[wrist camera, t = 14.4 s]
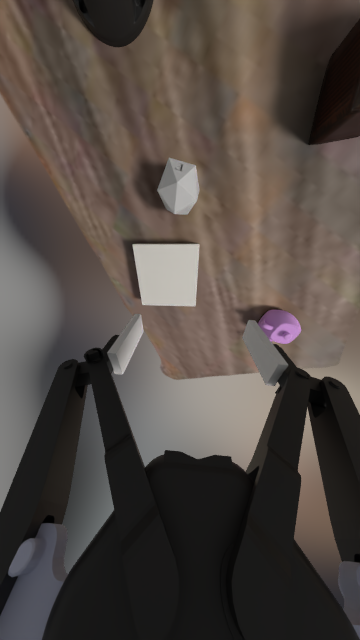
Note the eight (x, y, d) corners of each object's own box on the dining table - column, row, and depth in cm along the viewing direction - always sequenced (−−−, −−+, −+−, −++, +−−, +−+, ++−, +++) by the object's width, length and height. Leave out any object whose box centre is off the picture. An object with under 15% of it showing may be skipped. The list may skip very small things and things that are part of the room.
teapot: (262, 301, 47) (277, 315, 39) (296, 313, 48) (317, 329, 40) (239, 333, 55) (248, 350, 46) (269, 342, 56) (282, 361, 48)
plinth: (137, 243, 40) (132, 244, 37) (198, 243, 39) (199, 244, 36) (145, 300, 50) (142, 304, 46) (195, 301, 49) (195, 306, 45)
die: (202, 175, 32) (206, 154, 23) (192, 221, 37) (193, 217, 28) (167, 165, 31) (158, 139, 23) (161, 213, 36) (152, 206, 28)
